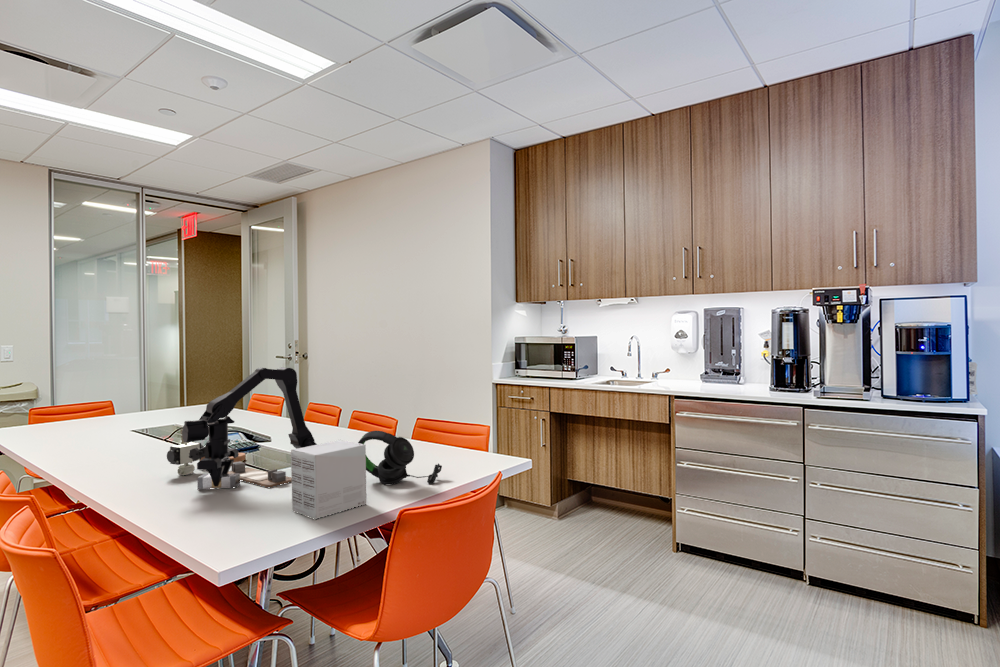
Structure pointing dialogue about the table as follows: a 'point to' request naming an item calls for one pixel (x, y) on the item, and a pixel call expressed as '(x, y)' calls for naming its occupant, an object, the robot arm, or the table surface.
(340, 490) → the supplement box
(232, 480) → the steel coupler
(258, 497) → the table surface
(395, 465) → the headset
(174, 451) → the pneumatic valve
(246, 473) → the stand
